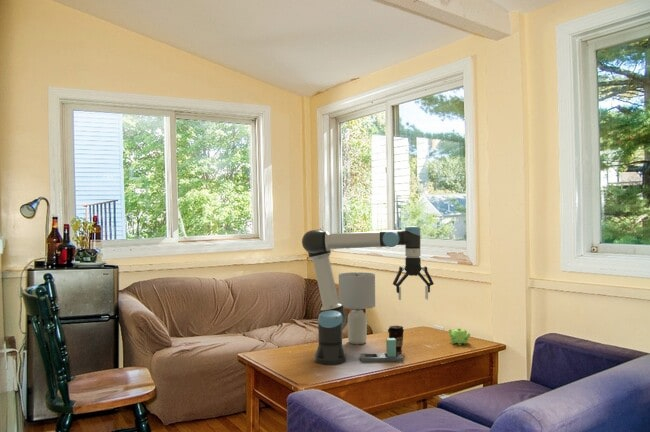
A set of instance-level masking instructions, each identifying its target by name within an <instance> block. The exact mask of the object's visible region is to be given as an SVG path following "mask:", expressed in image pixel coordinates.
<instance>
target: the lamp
mask: <svg viewBox="0 0 650 432" xmlns="http://www.w3.org/2000/svg"><path fill="white" fill-rule="evenodd" d="M338 300H339V302H340V303H341V304H342V305H343V309H348V310H350V312H349V313H348V314H347V340H348V341H347V342H349V344H351V345H363V344H365V343H366V342H367V338H368V335H367V331H368V330H367V328H368V327H367V322H368V321H367V314H366V312H364V309H365V310H366V309H371V308H375V307H376V273H372V272H363V271H362V272H360V271H359V272H357V271H355V272H351V271H350V272H341V273H338Z"/></svg>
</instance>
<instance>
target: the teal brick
mask: <svg viewBox="0 0 650 432" xmlns="http://www.w3.org/2000/svg"><path fill="white" fill-rule="evenodd" d="M385 342H386V353H387V357H396V339H395V338H389V337H387V338H386V339H385Z"/></svg>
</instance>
